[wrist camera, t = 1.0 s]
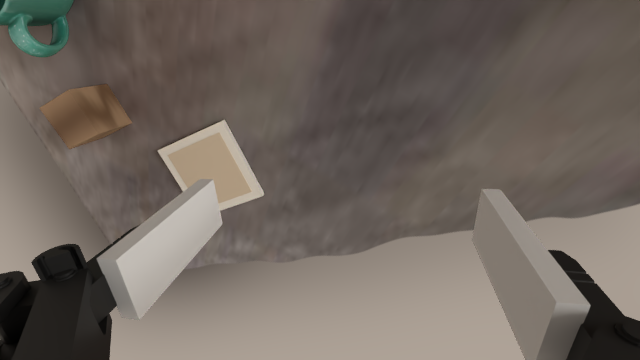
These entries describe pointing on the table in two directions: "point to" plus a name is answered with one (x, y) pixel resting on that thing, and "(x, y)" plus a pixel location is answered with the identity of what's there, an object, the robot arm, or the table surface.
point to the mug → (36, 23)
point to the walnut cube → (85, 114)
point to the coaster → (213, 164)
